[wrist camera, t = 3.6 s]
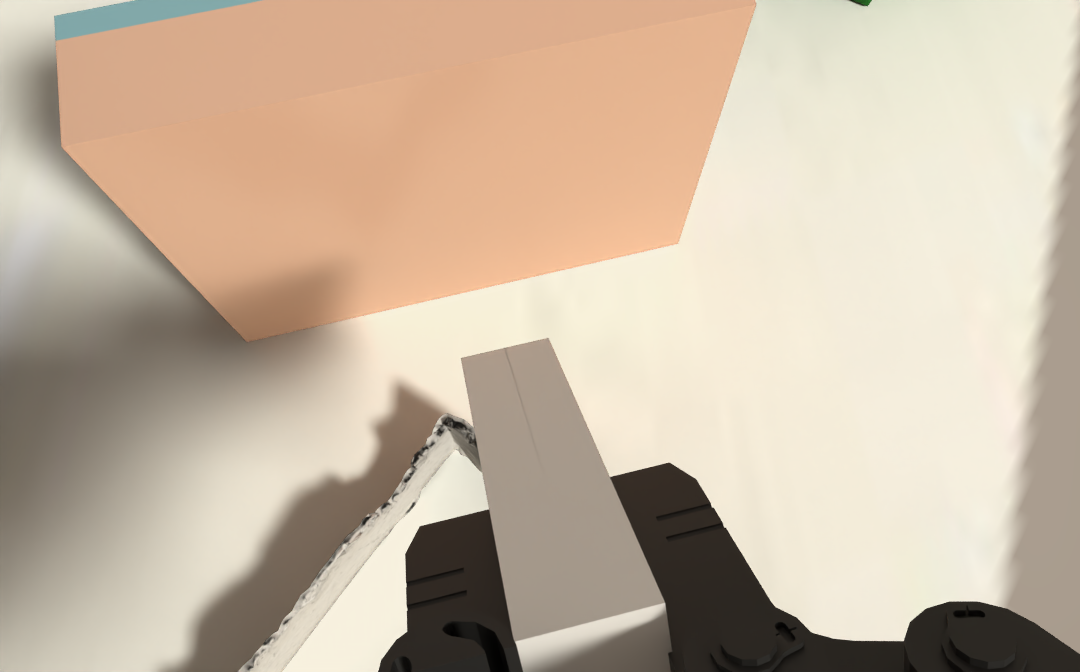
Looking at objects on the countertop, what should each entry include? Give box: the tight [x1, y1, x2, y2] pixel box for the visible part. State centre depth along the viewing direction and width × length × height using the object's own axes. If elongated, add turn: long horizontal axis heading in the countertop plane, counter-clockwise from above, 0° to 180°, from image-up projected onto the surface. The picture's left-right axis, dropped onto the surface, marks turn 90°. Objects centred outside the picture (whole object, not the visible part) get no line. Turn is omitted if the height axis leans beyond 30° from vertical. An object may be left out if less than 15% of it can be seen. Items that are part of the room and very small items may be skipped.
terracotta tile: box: [54, 0, 756, 342], centre depth 21 cm, size 3×13×10 cm, turn 104°
